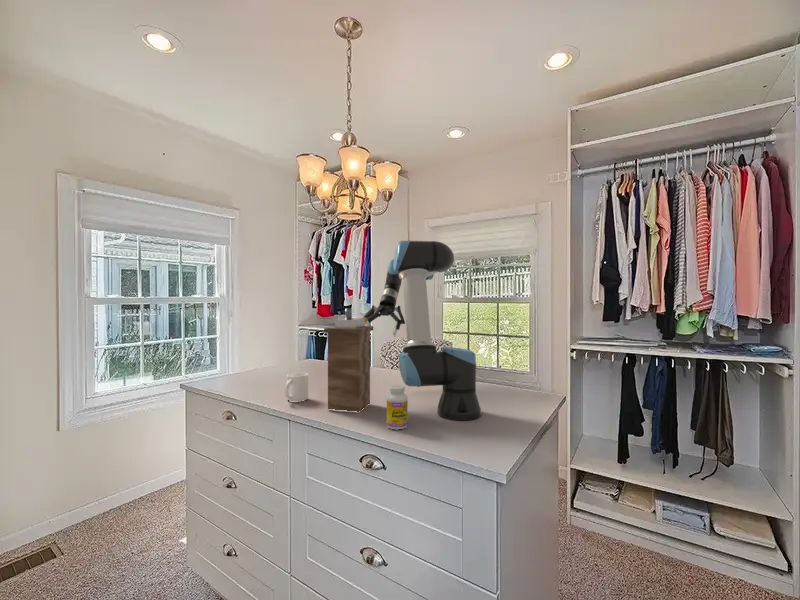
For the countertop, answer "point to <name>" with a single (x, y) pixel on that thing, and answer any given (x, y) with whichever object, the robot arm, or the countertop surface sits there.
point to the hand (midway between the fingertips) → (379, 334)
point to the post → (348, 368)
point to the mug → (297, 387)
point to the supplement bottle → (397, 408)
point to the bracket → (350, 321)
